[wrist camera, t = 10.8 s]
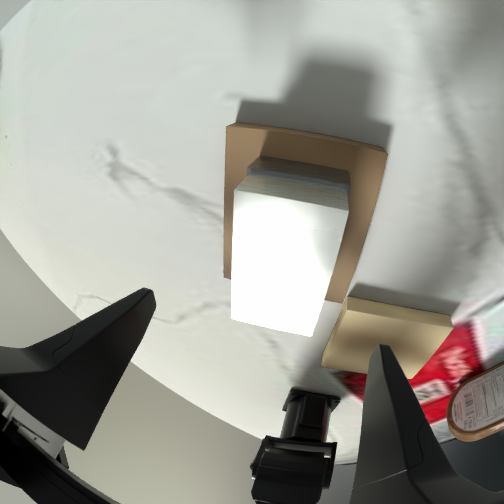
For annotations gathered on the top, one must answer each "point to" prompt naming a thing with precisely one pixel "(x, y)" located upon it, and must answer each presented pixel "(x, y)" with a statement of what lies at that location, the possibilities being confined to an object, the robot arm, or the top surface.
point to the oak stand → (384, 335)
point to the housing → (286, 241)
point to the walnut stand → (315, 152)
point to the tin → (478, 406)
